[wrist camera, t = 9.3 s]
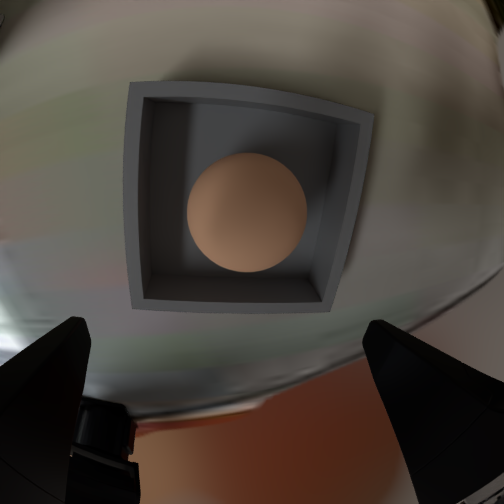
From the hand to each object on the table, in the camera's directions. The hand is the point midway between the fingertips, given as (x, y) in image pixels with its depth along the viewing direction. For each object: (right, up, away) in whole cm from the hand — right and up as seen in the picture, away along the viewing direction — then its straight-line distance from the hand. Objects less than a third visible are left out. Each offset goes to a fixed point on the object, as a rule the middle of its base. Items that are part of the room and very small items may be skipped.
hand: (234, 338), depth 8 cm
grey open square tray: (0, +6, +9) cm, 11 cm away
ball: (0, +4, +6) cm, 8 cm away
